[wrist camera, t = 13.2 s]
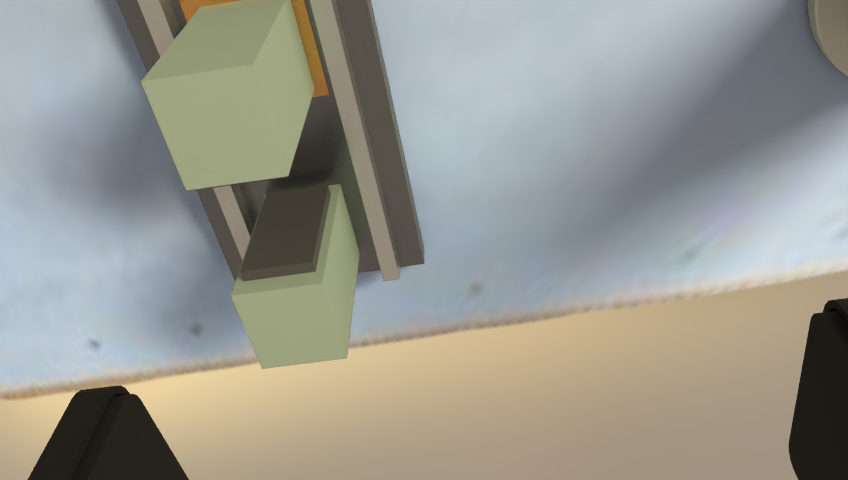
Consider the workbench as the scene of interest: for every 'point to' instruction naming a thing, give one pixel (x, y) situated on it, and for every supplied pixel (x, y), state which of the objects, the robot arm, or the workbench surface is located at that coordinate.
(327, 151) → the dark grey tray
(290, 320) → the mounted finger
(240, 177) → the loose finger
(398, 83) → the workbench surface
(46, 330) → the workbench surface
